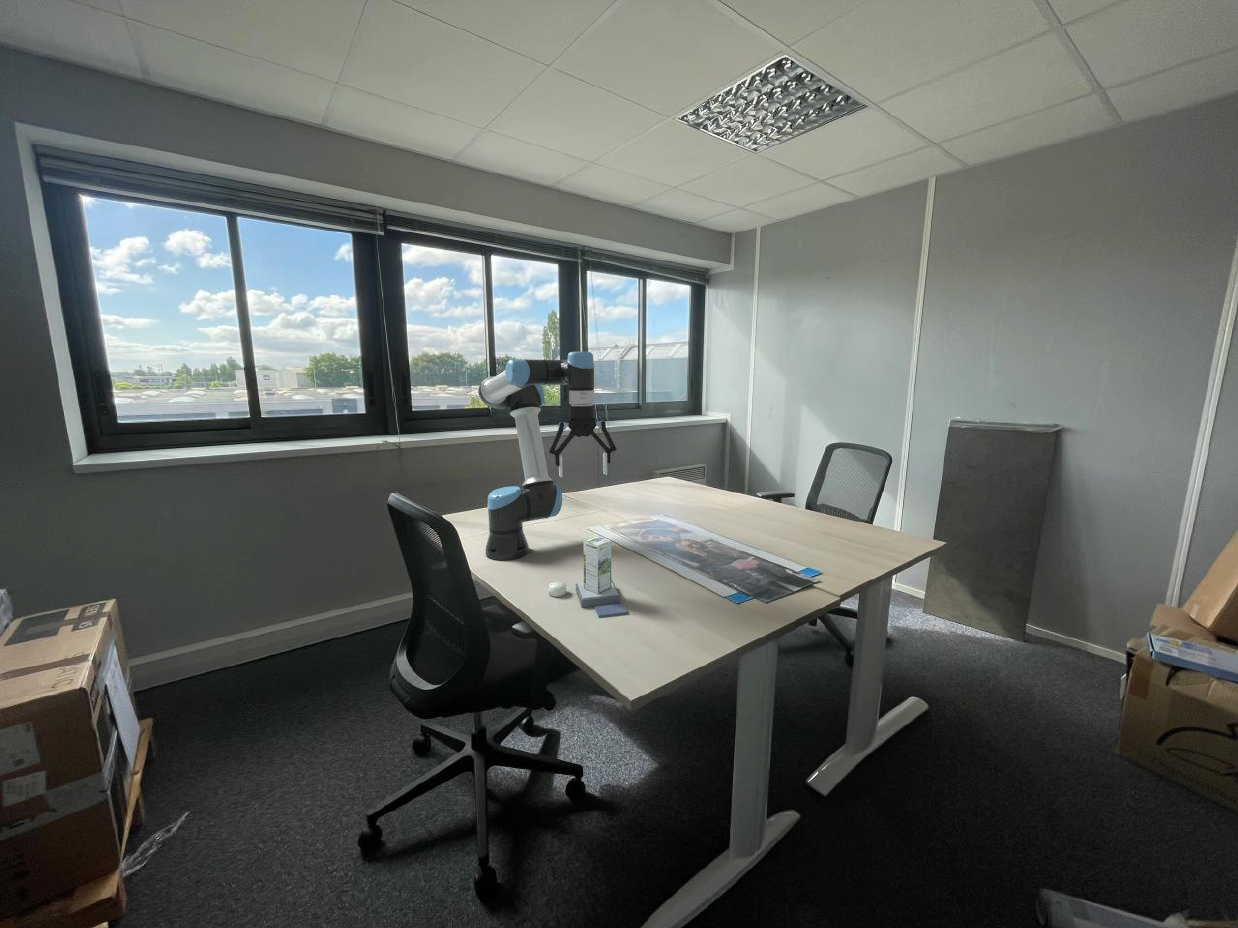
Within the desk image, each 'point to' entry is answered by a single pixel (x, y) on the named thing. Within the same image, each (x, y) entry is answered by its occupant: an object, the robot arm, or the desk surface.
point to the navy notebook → (611, 610)
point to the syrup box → (597, 564)
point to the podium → (597, 596)
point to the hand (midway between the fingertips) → (583, 475)
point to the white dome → (557, 589)
